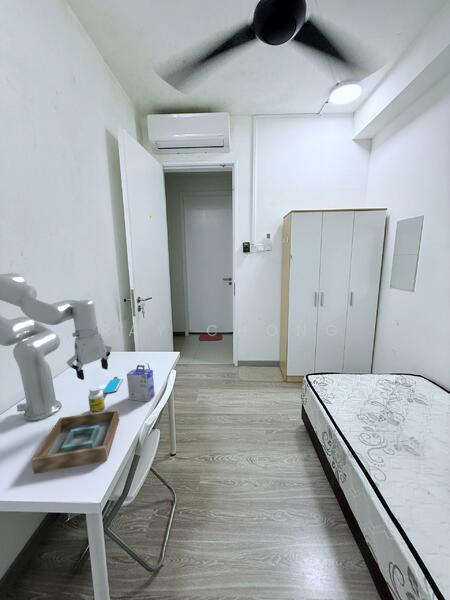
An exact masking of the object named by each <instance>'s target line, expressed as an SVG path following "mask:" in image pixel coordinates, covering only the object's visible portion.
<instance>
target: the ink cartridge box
mask: <svg viewBox="0 0 450 600" xmlns="http://www.w3.org/2000/svg"><path fill="white" fill-rule="evenodd" d="M145 366H146V365H144V364H142V365H141V364H137V365H136V368H133V369H131V370H129V372H127V373H126V381H127V382H126V383H127V391H128V392H127V393H128V400H130V401H137V402H138V401H140V402H150V401H151V400H153V398H154V397H155V395H156V393H155V383H154V373H153V372H154V370H152V369H150V370H144V369H146V367H145Z"/></svg>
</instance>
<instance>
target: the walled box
mask: <svg viewBox="0 0 450 600" xmlns="http://www.w3.org/2000/svg"><path fill="white" fill-rule="evenodd" d="M119 413H120V411H119V409H112V410H105V411H104V410H103V411H102V412H96V413H91V412H89V413H85V414H77V415H76V414H75V415H70V416H64V417H59V419H58V420H57V422H55V425H54V426H53V427H52V429H51V430H50V432H49V433H48V435H47V436H46V438H45V440H44V441H43V442H42V444H41V445H40V446H39V448H38V450H37V452H36V453H35V455H34V456H33V457H32V459H31V464H32V465H31V466H32V470H33V474H35V475H36V474H40V473H46V472H51V471H55V470H56V471H57V470H61V469H68V468H72V467H78V466H83V465H84V466H85V465H90V464H94V463H96V464H97V463H101V462H106V461H108V459H109V456H110V452H111V449H112V446H113V442H114V439H115V437H116V436H115V435H116V433H117V430H118V429H117V428H118V426H119V423H120V415H119Z"/></svg>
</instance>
